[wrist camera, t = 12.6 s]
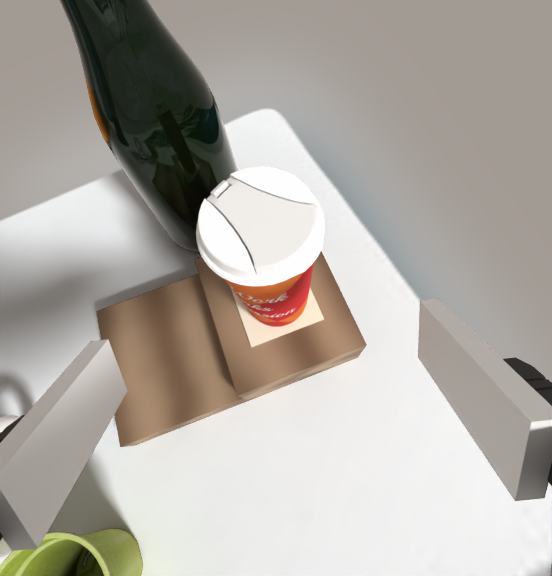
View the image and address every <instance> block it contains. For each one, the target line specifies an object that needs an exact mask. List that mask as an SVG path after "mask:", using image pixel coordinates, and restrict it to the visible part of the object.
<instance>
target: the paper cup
mask: <svg viewBox="0 0 552 576" xmlns="http://www.w3.org/2000/svg"><path fill="white" fill-rule="evenodd" d="M210 193H211V195H210V196H209V197H208V198H207V200H206V199H205V198H204V201H203V203H202V205H201V207H200V211H199V215H198V222H197V228H196V240H197V245H198V249H199V251H200V254H201V256H202V258H203V259H204V261H205V262H206V264H207V265H208V266H209V267H210V268H211V269H212V270H213V271H214V272H215V273H216V274H218V275H219V276H221V277H222V278H224V279H225V280H226V282H227V283H228V284H229V286H230V287H231V288H232V290H233V291H234V292H235V294H236V295H237V296H238V298H239V299H240V300H241V302H242V303H243V304H244V305H245V307H246V308H247V309H248V311H249V312H250V313H251V314H252V315H253V316H254V317H255V318H256V319H257V320H258V321H259V322H261V323H263V324H265V325H268V326H272V327H281V326H285V325H288V324H291V323H292V322H294V321H295V320H297V319H298V318H299V317H300V315H301V314H302V313H303V311H304V309H305V307H306V304H307V300H308V295H309V289H310V284H311V278H312V272H313V266H314V261H315V260H316V258H317V257H318V255H319V254H320V252H321V250H322V247H323V237H324V230H325V224H324V216H323V212H322V209H321V207H320V204H319V202H318V201H317V199H316V198H315V196H314V195H313V194H312V193H311V191H310V190H309V188H308V187H307V186H306V185H305V184H304V183H303V182H302V181H301V180H300V179H298V178H297V177H296V176H294V175H293V174H291V173H289V172H287V171H284V170H281V169H277V168H273V167H251V168H245V169H242V170H239V171H236V172H234V173H232V174H230V178H228V179H227V180H226V181H225V180H223V181H222V182H221V183H220V184H219V185H218V186H217V187H216V188H215V189H213V190H212V191H211V192H210Z"/></svg>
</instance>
